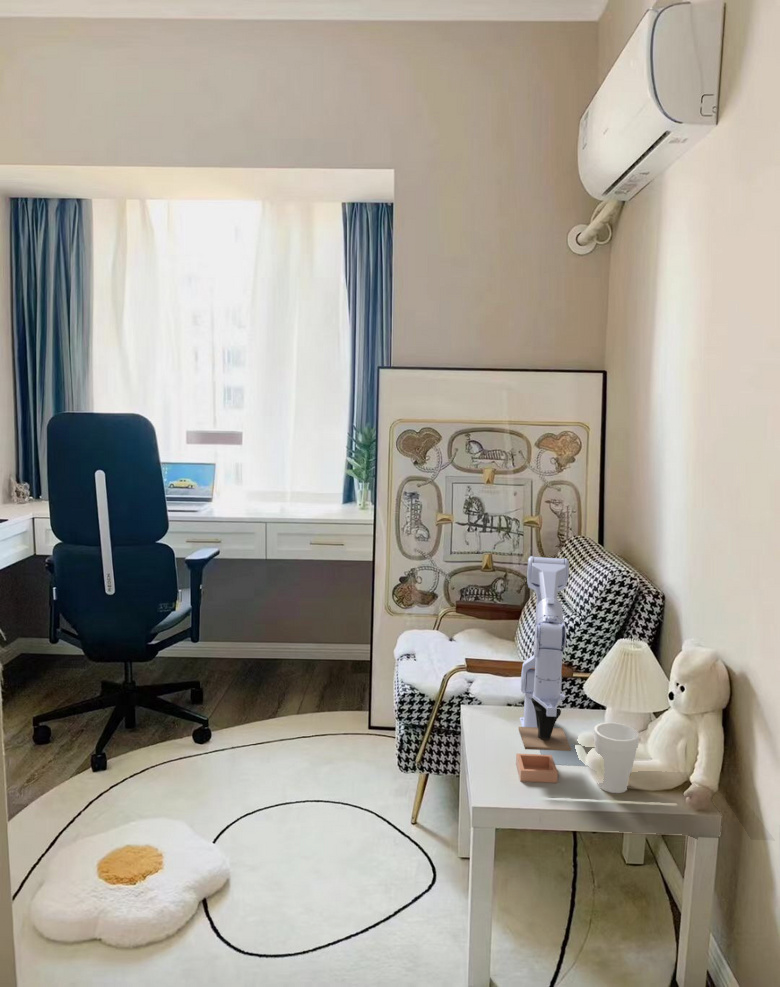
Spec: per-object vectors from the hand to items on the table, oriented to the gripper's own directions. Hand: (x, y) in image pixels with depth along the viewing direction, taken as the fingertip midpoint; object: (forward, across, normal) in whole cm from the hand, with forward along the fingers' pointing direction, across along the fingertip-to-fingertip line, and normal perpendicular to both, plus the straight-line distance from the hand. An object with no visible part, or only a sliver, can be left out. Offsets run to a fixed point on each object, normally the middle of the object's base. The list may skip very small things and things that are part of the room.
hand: (544, 734), depth 184 cm
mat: (+9, +8, -6) cm, 14 cm away
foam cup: (+9, -6, -14) cm, 18 cm away
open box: (+9, -2, +2) cm, 9 cm away
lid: (+1, 0, 0) cm, 1 cm away
